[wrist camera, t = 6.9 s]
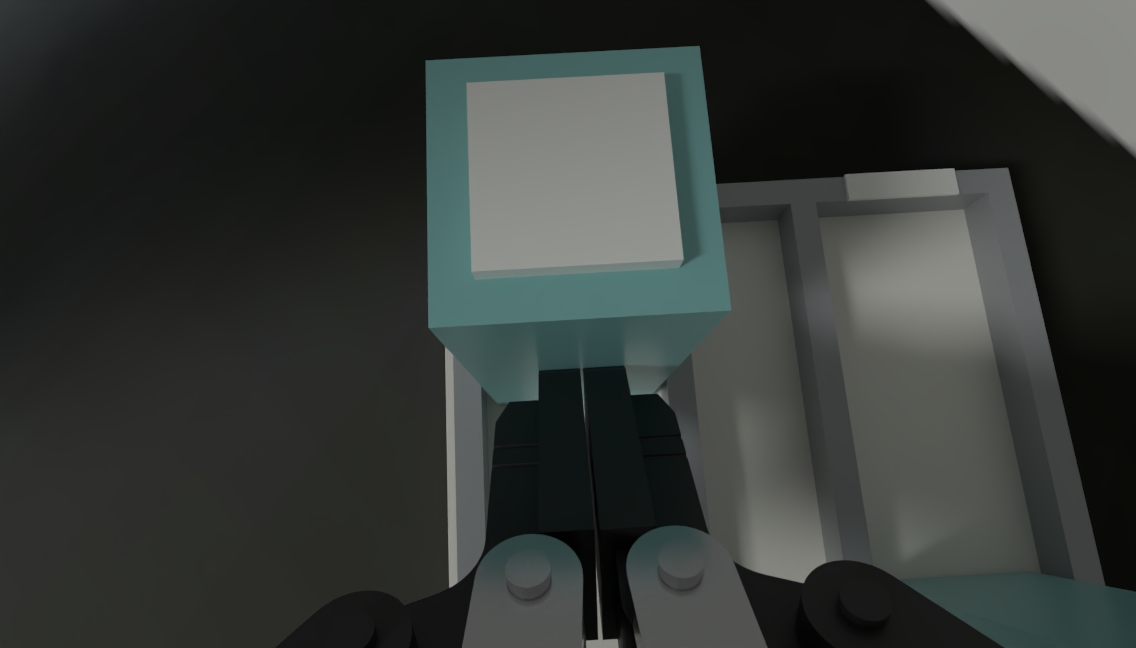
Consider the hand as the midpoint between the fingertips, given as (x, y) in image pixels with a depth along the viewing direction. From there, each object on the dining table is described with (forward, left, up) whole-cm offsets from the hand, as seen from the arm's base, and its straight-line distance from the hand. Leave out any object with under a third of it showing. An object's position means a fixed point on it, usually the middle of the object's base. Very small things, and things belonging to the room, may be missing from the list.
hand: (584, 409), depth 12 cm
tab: (-1, +2, -4) cm, 4 cm away
